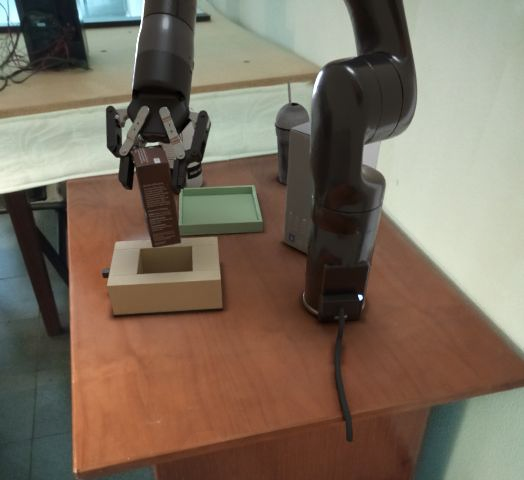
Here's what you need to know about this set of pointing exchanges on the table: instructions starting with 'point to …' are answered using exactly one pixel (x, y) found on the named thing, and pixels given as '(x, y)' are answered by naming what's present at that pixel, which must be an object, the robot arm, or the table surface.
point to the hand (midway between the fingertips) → (151, 189)
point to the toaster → (164, 277)
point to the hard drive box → (306, 185)
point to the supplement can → (194, 168)
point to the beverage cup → (287, 131)
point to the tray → (219, 210)
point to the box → (157, 195)
